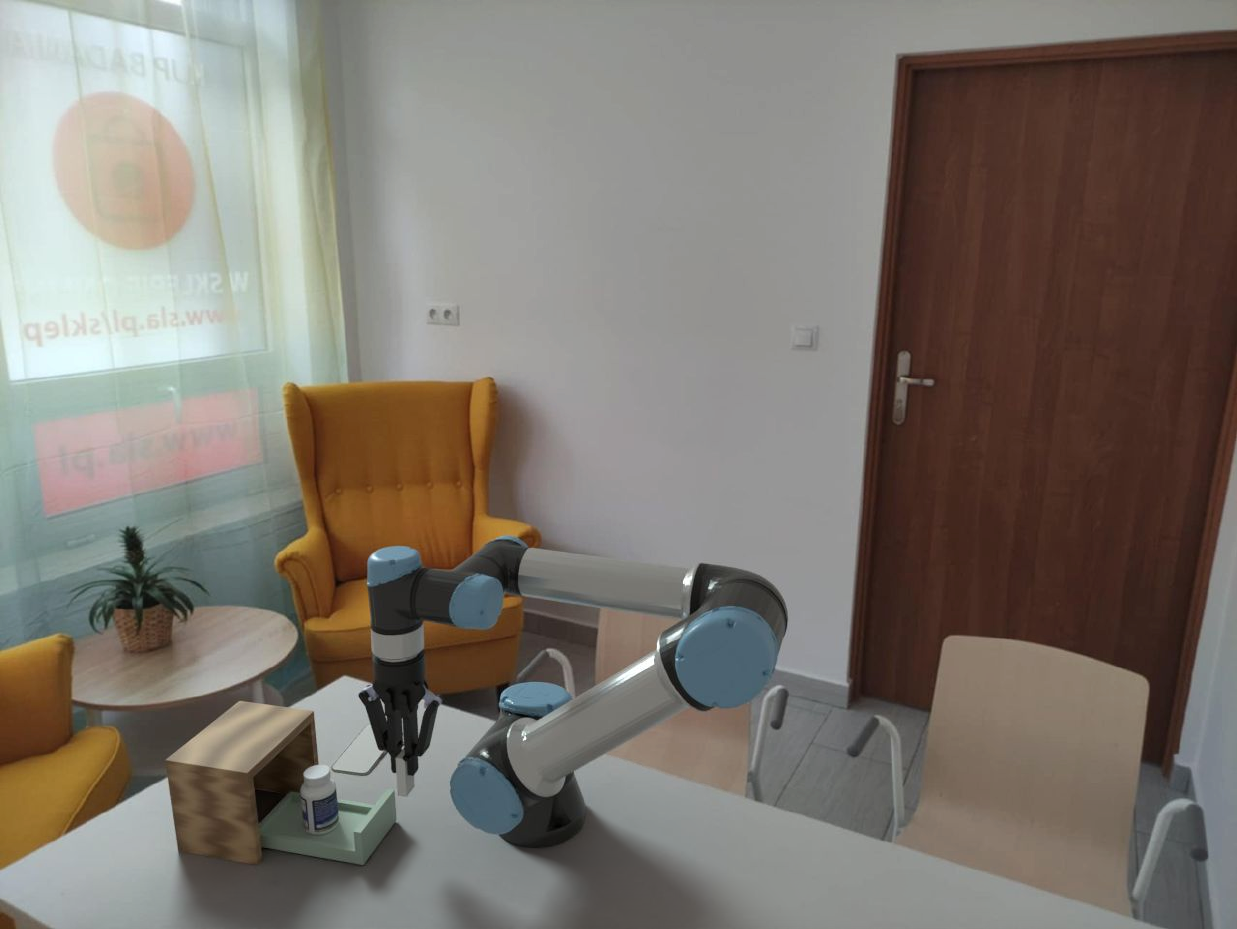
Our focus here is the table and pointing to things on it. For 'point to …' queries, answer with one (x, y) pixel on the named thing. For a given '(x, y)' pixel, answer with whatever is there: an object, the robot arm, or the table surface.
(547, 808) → the robot arm
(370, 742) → the smartphone
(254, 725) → the wooden drawer cabinet
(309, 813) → the pill bottle
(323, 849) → the tray
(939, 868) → the table surface
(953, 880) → the table surface
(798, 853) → the table surface
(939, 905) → the table surface
